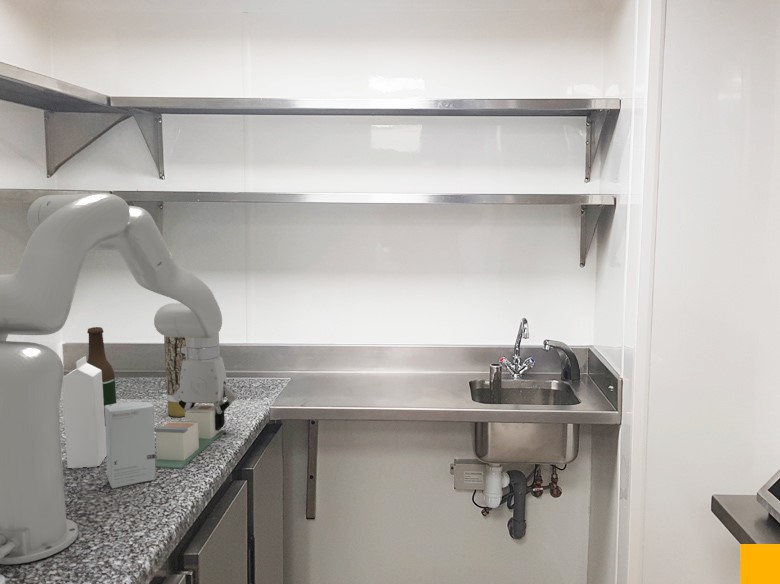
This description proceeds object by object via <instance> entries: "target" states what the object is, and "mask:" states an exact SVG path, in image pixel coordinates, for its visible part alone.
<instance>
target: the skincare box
mask: <svg viewBox="0 0 780 584" xmlns="http://www.w3.org/2000/svg"><path fill="white" fill-rule="evenodd" d="M105 425H106V426H105V433H106V455H107V457H106V477H107V481H108V483H109V486H110V489H117V488H120V487H126V486H131V485H136V484H139V483H145V482H151V481H155V480H156V479H157V478H156V468H155V457H156V449H155V448H156V446H155V445H156V432H154V428H155V407H154V405H153V404H152V403H151V401H149V400H140V401H126V402H120V403H116V404H111V405H105Z"/></svg>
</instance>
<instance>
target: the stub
mask: <svg viewBox="0 0 780 584" xmlns="http://www.w3.org/2000/svg"><path fill="white" fill-rule="evenodd" d="M216 413H217V411H216V409H215V406H214V404H212V405H211V404H210V405H209V404H205V405H203V404H195V406H194V407H192V408H191V409H189V410H188V411H186V412H185V416H184V419H185V420H184V421H196V422H198V438H203V439H211V438H212V437H214V436H215V435H216V434H217V433H219V432H220V431H221V430H222V428H221V429H220V430H216V429H215V414H216Z"/></svg>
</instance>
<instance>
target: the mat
mask: <svg viewBox="0 0 780 584" xmlns="http://www.w3.org/2000/svg"><path fill="white" fill-rule="evenodd" d="M225 431H226V429H221V431H220V432H219V433H217V434H216V435H215V436H214V437H212V438H211V439H203V438H198V440H199V449H198V450H197V451H195V452H194V453H193V454H192V455H190V456H189V457H188V458H187V459H185V460H184V461H182V460H160V459H157V455H155V467H162V468H161V469H177V470H179V469H180V470H181V469H183V468H184V467H185V466H186V465H187V464H189V463H190V462H191V461H192V460H193V459H195V458H196V457H197V456H198V455H200V453H202V452H203V451H204V450H206V449H207V448H208V447H209V446H210V445H212V443H214V442H215V441H216V440H218V438H220V437H221V436H222V435H223V434H224V433H226V432H225ZM220 435H221V436H220ZM219 436H220V437H219ZM213 441H214V442H213ZM208 445H209V446H208ZM207 446H208V447H207ZM201 451H202V452H201ZM195 456H196V457H195ZM190 460H191V461H190ZM189 461H190V462H189ZM183 466H184V467H183Z"/></svg>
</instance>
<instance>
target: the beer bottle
mask: <svg viewBox="0 0 780 584" xmlns="http://www.w3.org/2000/svg"><path fill="white" fill-rule="evenodd" d="M86 333H87V334H88V355H87V356H88V357H87V360H86V362H87V363H88V364H90V365H92V366H94V367H96V368H98V369H100V370H102V384H103V400H104V417H105V405H111V404H117V393H116V390H117V389H116V377H115V371H114V369H113V367H112V365H111V364H110V362H109V361H108V360H107V356H106V351H105V344H104V335H103V333H104V329H103V327H101V326H100V327H99V326H93V327H88V328H87V332H86Z"/></svg>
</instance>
